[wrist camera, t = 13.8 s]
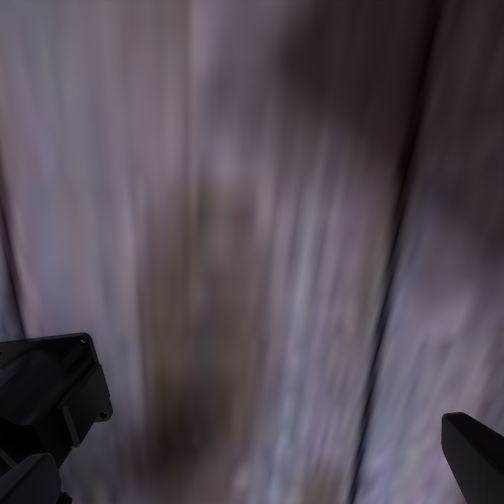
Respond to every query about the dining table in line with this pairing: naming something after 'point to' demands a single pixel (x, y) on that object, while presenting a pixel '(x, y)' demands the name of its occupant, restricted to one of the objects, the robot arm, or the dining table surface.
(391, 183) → the dining table surface
